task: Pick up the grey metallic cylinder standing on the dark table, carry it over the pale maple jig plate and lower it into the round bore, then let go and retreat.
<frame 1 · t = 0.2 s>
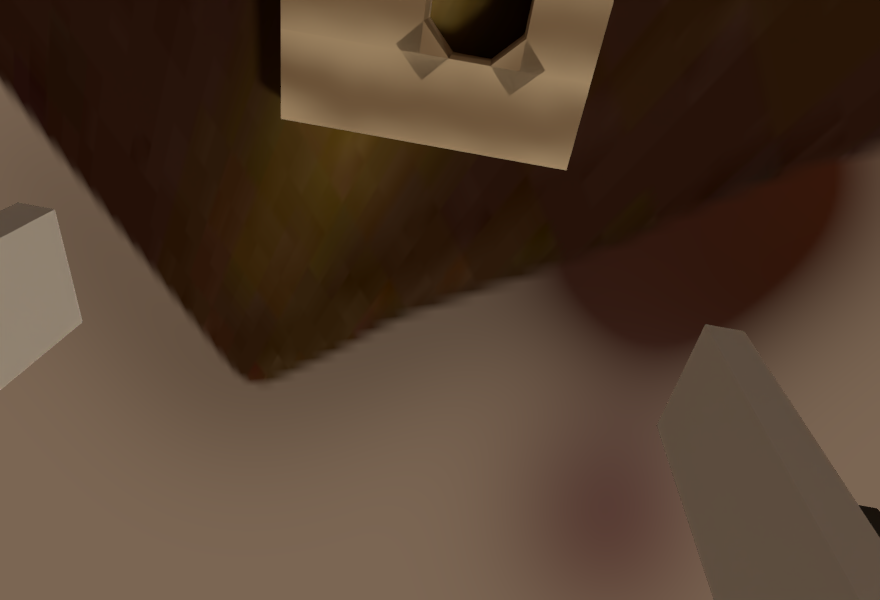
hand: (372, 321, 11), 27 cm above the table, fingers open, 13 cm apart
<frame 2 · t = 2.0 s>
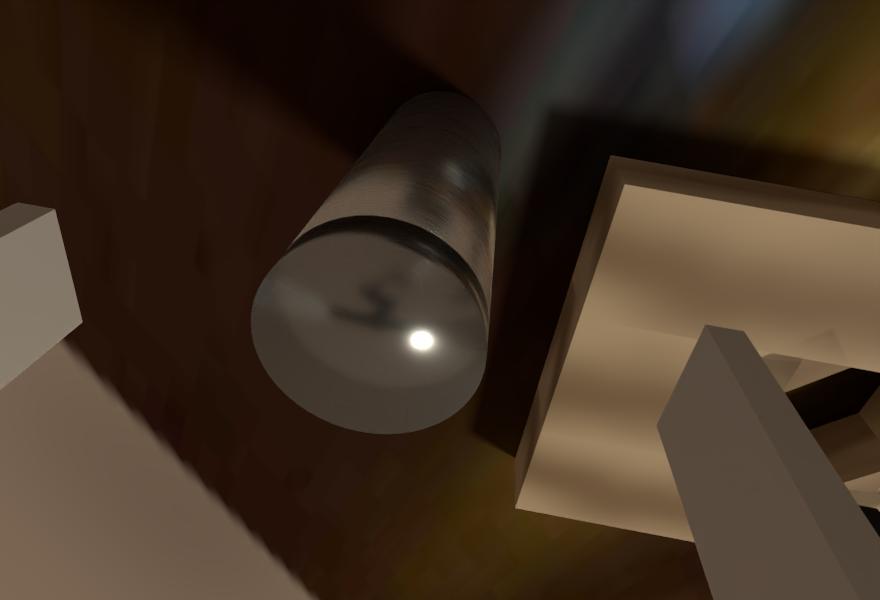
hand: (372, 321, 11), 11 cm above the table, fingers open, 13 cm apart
grey metallic cylinder: (441, 153, 20), on the table
jig: (760, 371, 24), on the table
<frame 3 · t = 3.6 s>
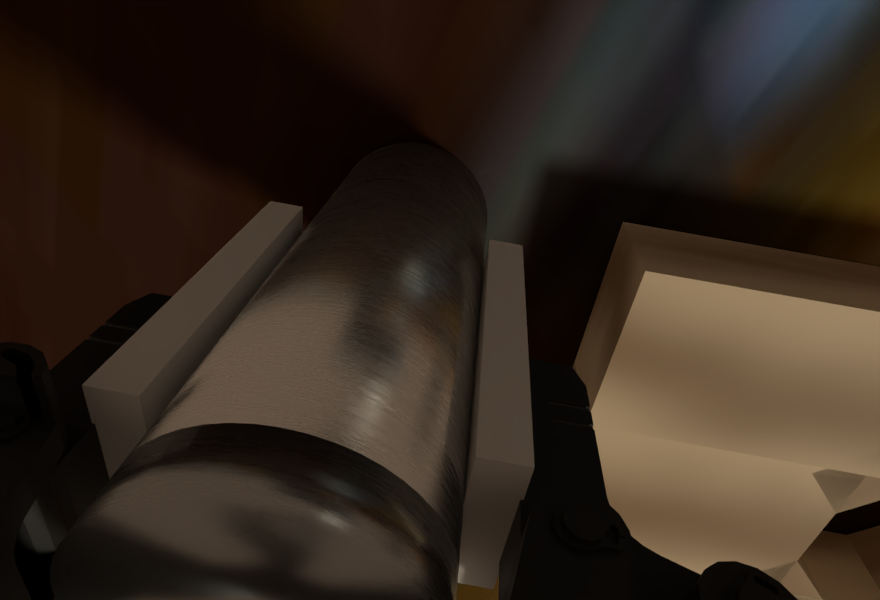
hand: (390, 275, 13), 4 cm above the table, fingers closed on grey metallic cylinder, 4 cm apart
grey metallic cylinder: (412, 216, 16), on the table, touching gripper
jig: (800, 468, 20), on the table
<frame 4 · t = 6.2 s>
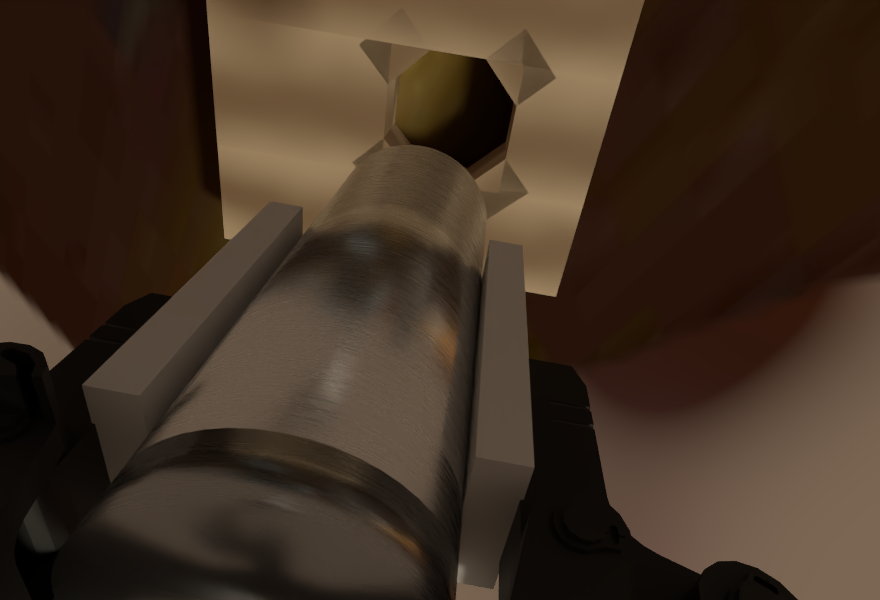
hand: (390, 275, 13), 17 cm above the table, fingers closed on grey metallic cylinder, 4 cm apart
grey metallic cylinder: (412, 219, 16), point 13 cm above the table, touching gripper
jig: (414, 101, 28), on the table
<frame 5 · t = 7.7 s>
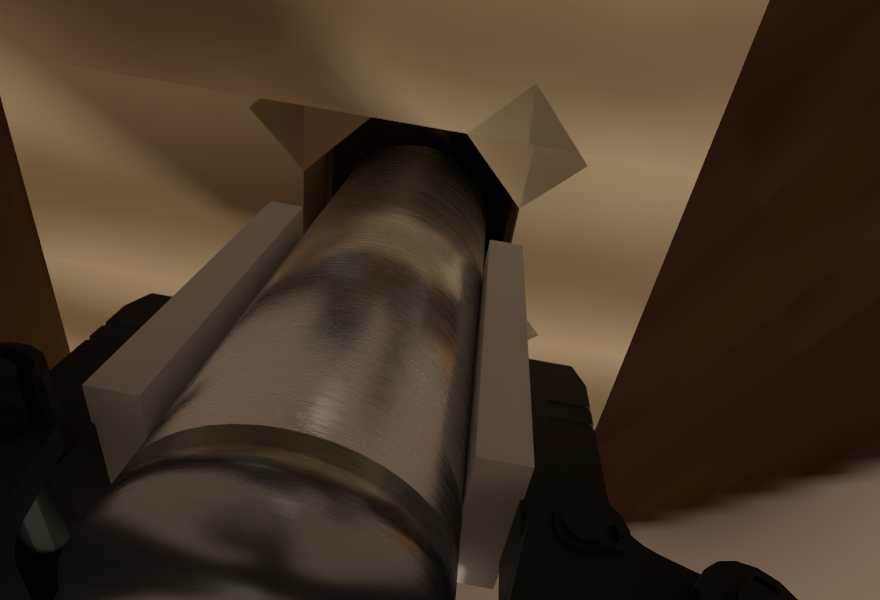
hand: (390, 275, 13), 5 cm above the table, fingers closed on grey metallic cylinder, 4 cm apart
grey metallic cylinder: (412, 218, 16), point 2 cm above the table, touching gripper
jig: (360, 182, 18), on the table
when the fingers open (5 cm above the table, at t = 8.8 s): grey metallic cylinder stays where it is, resting in jig.
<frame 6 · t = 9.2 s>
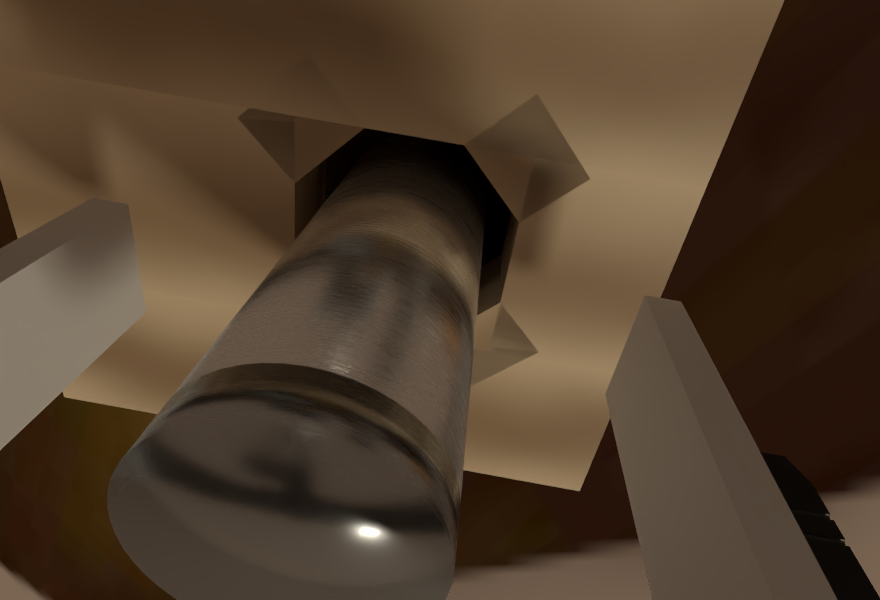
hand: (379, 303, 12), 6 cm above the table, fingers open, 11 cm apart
grey metallic cylinder: (415, 204, 17), resting in jig
jig: (354, 193, 17), on the table
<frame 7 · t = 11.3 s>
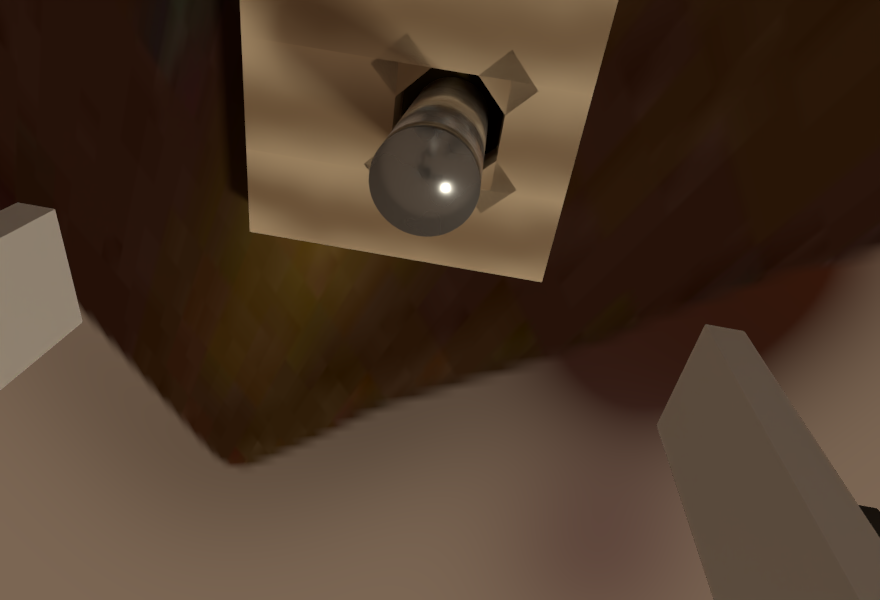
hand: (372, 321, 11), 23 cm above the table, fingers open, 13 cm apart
grey metallic cylinder: (450, 117, 32), resting in jig
jig: (417, 111, 32), on the table
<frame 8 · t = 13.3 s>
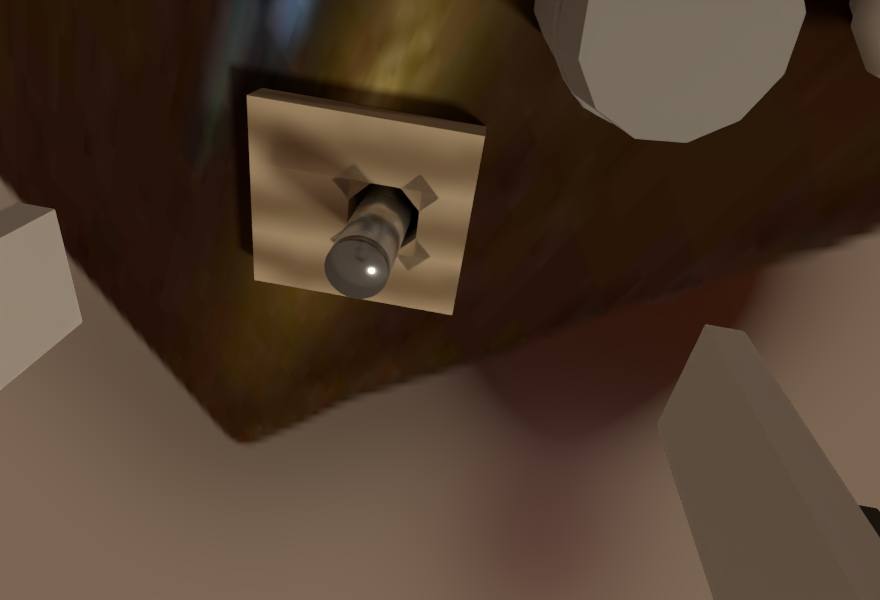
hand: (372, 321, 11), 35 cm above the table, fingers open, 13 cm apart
grey metallic cylinder: (388, 205, 47), resting in jig
jig: (366, 201, 47), on the table
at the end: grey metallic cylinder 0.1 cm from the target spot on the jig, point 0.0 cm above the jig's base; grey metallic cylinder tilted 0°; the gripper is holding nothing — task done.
